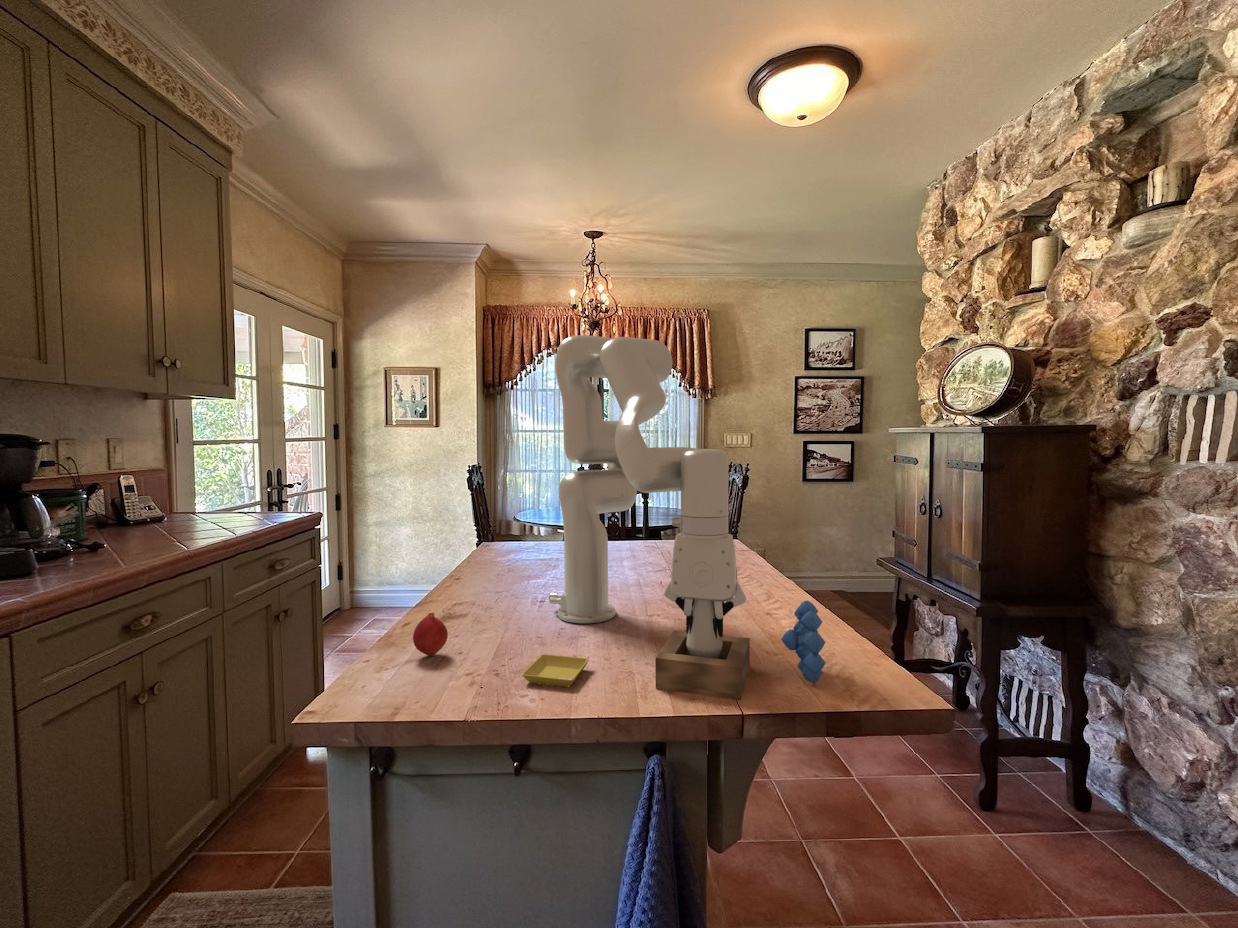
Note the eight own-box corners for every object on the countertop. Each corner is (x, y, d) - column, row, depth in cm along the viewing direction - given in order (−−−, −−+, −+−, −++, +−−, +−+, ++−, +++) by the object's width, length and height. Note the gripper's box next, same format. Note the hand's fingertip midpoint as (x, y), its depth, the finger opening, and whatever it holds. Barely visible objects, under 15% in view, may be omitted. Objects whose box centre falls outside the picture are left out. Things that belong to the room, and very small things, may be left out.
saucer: (572, 693, 87) (572, 679, 87) (520, 687, 89) (520, 673, 89) (590, 670, 95) (590, 658, 95) (542, 665, 97) (542, 653, 97)
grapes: (775, 661, 98) (775, 592, 97) (815, 662, 97) (816, 593, 96) (786, 691, 86) (787, 613, 86) (833, 693, 85) (833, 614, 85)
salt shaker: (722, 666, 88) (722, 583, 87) (685, 663, 89) (684, 582, 88) (722, 652, 94) (722, 574, 93) (688, 650, 95) (687, 573, 94)
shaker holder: (655, 688, 87) (655, 657, 87) (674, 657, 100) (674, 630, 99) (741, 700, 83) (741, 668, 83) (749, 665, 96) (749, 638, 95)
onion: (416, 665, 97) (414, 619, 97) (411, 653, 102) (410, 610, 102) (450, 658, 100) (449, 614, 99) (444, 648, 105) (443, 605, 104)
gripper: (648, 527, 89) (649, 642, 90) (754, 532, 84) (754, 653, 85) (660, 520, 96) (661, 627, 97) (758, 524, 91) (758, 636, 92)
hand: (704, 638), depth 91 cm, fingers closed on salt shaker, 3 cm apart
